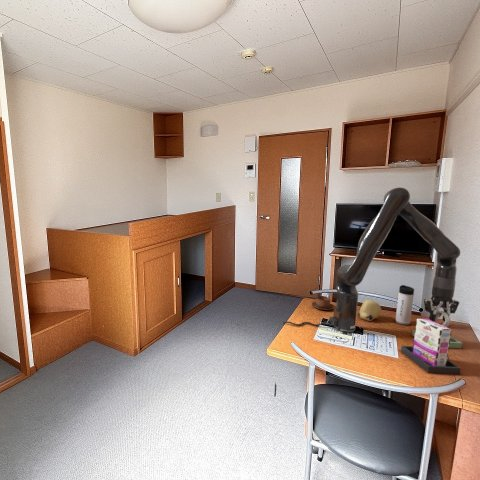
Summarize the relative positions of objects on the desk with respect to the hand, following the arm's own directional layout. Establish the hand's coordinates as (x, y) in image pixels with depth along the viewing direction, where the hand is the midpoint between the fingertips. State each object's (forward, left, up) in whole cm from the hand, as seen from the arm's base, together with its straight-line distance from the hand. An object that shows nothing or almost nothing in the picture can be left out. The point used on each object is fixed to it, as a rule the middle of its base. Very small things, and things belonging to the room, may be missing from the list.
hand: (438, 321), depth 147 cm
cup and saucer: (-36, +39, -10) cm, 54 cm away
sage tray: (0, 0, -10) cm, 10 cm away
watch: (0, 0, -6) cm, 6 cm away
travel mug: (-2, +21, -10) cm, 23 cm away
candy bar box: (-16, -19, -10) cm, 27 cm away
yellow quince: (-17, +25, -10) cm, 32 cm away
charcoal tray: (-16, -19, -10) cm, 27 cm away
